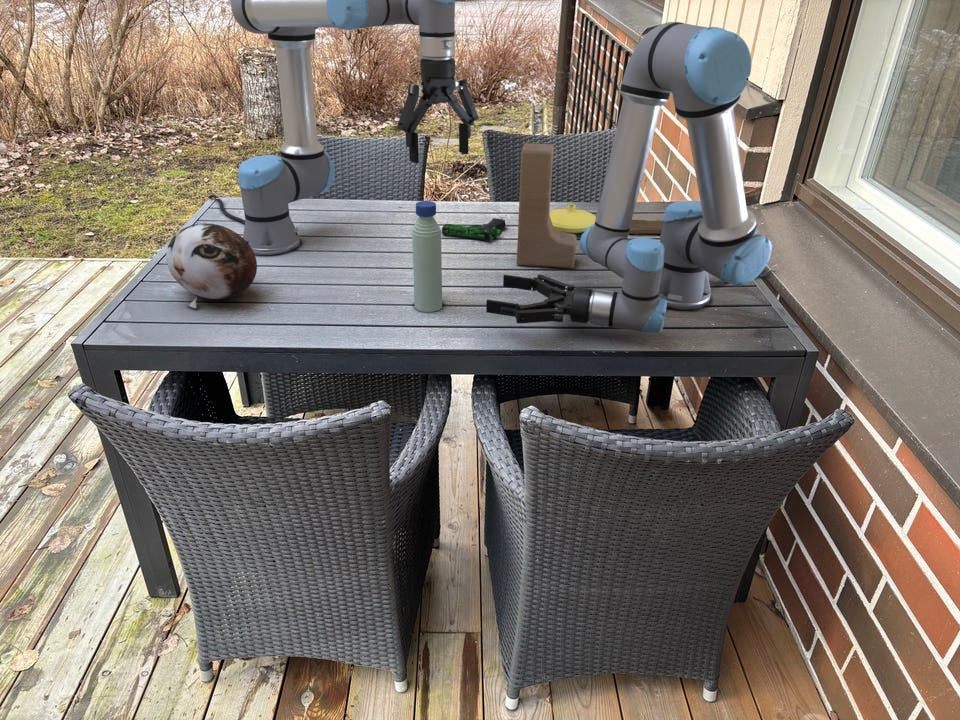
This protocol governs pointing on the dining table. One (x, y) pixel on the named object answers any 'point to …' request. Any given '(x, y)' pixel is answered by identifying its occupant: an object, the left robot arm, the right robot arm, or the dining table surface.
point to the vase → (571, 219)
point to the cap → (426, 208)
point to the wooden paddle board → (645, 227)
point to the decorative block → (540, 213)
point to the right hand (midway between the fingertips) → (495, 292)
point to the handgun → (476, 230)
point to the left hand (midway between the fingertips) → (439, 157)
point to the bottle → (427, 264)
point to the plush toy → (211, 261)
